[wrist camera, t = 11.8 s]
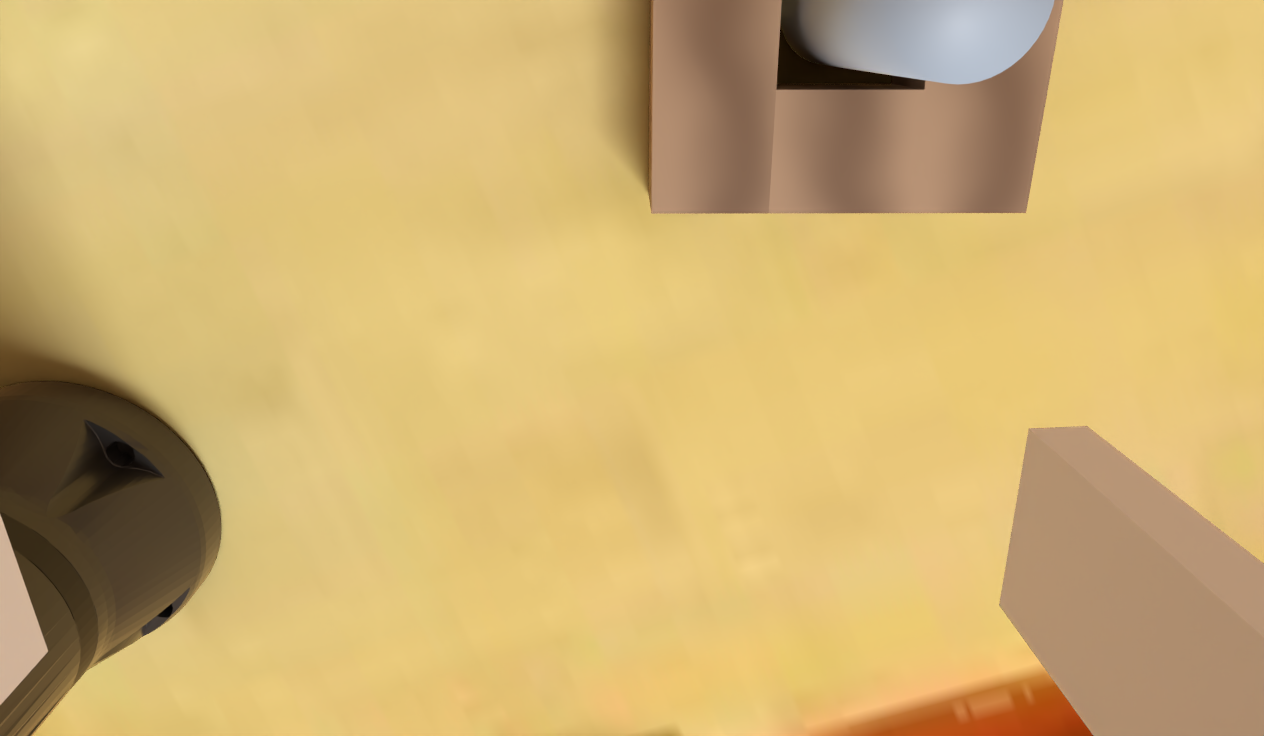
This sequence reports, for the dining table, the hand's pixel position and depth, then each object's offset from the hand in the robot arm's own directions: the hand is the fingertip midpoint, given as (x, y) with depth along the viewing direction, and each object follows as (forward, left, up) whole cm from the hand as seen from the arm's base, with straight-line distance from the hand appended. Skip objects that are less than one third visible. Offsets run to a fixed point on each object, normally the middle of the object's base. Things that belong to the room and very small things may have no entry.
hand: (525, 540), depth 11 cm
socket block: (+10, +7, -31) cm, 33 cm away
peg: (+10, +7, -31) cm, 33 cm away
